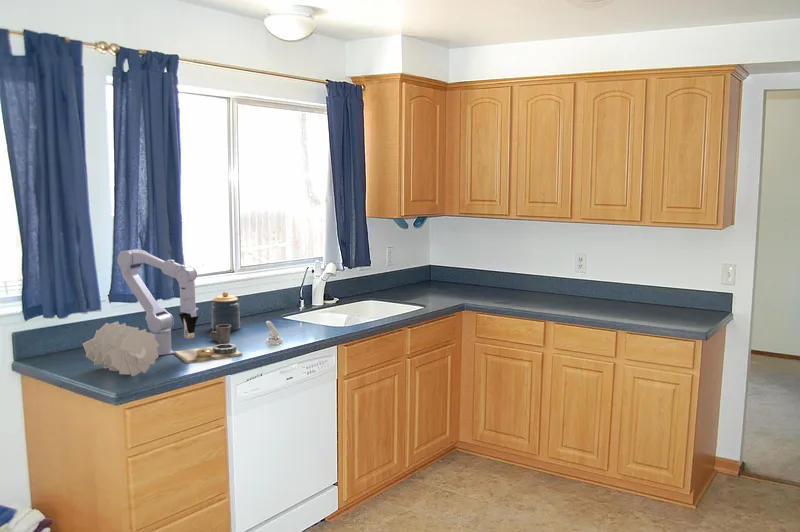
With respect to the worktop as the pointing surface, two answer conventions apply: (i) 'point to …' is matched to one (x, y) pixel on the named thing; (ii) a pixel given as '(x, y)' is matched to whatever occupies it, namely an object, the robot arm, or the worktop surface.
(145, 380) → the worktop surface
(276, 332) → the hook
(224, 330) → the pipe
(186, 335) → the pipe stub
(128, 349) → the spiral staircase
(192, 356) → the fitting board
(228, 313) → the canister
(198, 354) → the plug small
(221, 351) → the socket large
